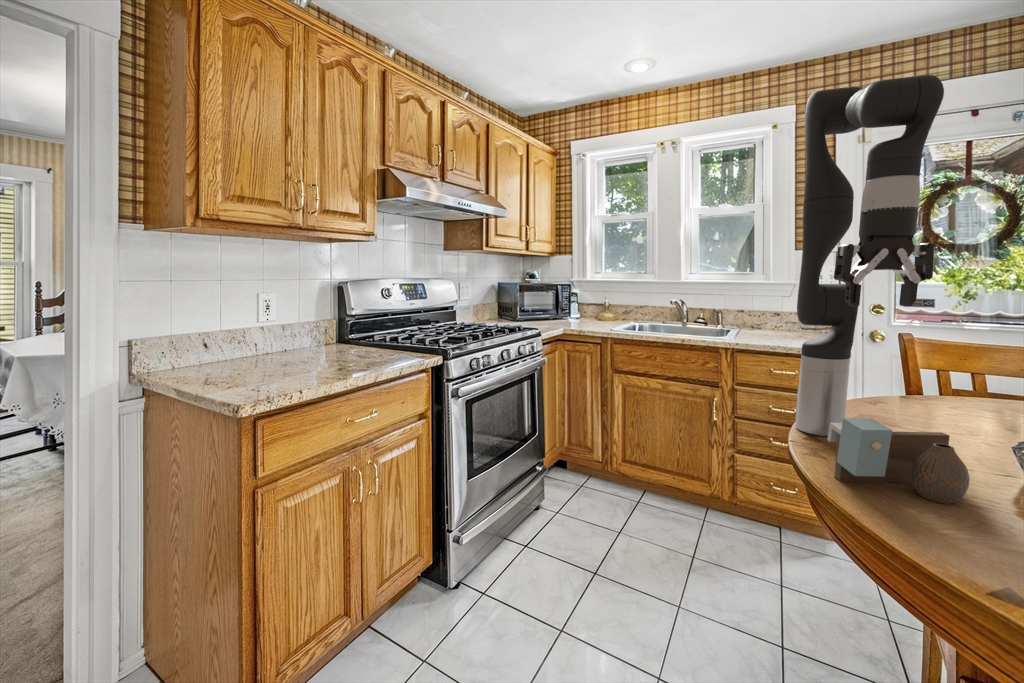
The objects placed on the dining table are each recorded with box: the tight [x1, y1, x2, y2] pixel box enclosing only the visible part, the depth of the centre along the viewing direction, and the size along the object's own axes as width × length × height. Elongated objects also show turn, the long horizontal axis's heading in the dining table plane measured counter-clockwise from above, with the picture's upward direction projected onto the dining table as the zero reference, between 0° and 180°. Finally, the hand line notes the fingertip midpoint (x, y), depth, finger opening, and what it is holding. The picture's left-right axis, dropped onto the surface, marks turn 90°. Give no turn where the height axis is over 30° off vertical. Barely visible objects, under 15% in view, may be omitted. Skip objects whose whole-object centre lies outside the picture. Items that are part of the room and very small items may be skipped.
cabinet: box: [827, 417, 893, 477], centre depth 81 cm, size 9×5×8 cm, turn 176°
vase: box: [911, 443, 970, 504], centre depth 76 cm, size 7×7×9 cm
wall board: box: [833, 431, 950, 484], centre depth 83 cm, size 2×17×8 cm, turn 86°
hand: (879, 306), depth 82 cm, fingers open, 8 cm apart
